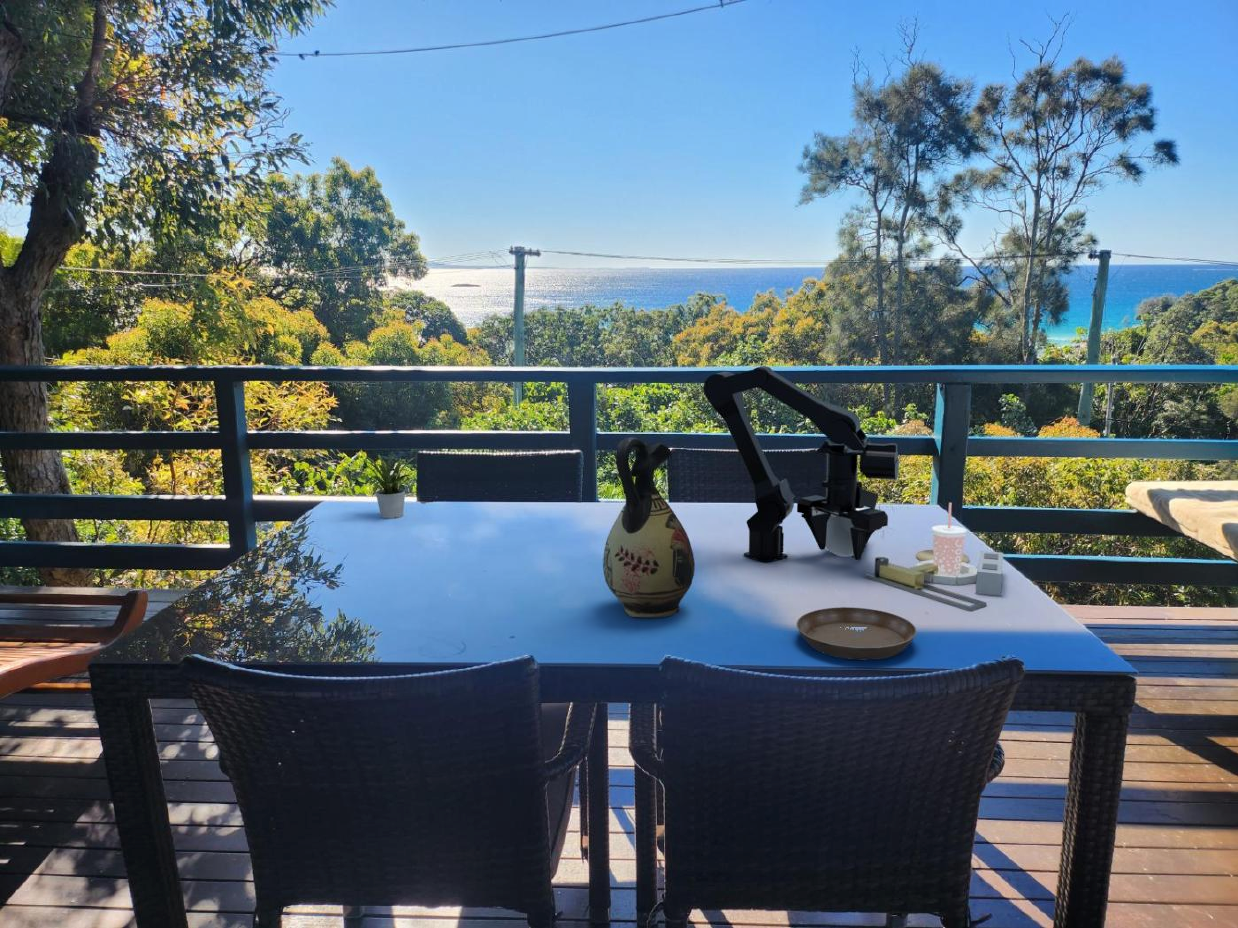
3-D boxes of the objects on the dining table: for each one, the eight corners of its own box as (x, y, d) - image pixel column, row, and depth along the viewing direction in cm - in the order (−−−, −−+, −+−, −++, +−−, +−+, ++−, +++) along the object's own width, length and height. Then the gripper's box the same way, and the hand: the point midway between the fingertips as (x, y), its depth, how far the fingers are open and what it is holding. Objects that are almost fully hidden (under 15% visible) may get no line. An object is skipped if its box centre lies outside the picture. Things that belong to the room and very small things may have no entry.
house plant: (345, 521, 218) (340, 454, 215) (376, 508, 231) (372, 445, 228) (397, 524, 214) (393, 457, 211) (426, 511, 227) (422, 447, 224)
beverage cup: (942, 581, 166) (946, 507, 164) (922, 572, 172) (926, 500, 169) (970, 578, 168) (975, 505, 165) (950, 569, 174) (954, 498, 171)
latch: (914, 589, 161) (915, 571, 161) (871, 575, 169) (872, 558, 169) (944, 581, 166) (945, 563, 165) (901, 568, 174) (901, 551, 173)
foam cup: (871, 546, 193) (861, 562, 182) (828, 534, 197) (816, 549, 185) (882, 504, 191) (872, 518, 179) (838, 492, 194) (826, 505, 183)
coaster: (947, 568, 174) (947, 566, 174) (905, 556, 182) (905, 554, 182) (979, 559, 179) (979, 558, 179) (937, 548, 187) (937, 546, 187)
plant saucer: (774, 632, 143) (774, 614, 143) (868, 617, 149) (869, 599, 149) (839, 675, 127) (839, 654, 127) (941, 655, 133) (942, 636, 133)
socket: (910, 586, 164) (911, 564, 163) (918, 564, 177) (919, 543, 176) (1000, 595, 158) (1001, 573, 157) (1001, 572, 171) (1003, 551, 170)
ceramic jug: (640, 589, 165) (639, 426, 159) (712, 606, 155) (712, 433, 149) (578, 615, 152) (574, 439, 146) (651, 636, 142) (650, 447, 136)
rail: (969, 611, 151) (970, 607, 151) (865, 577, 169) (865, 574, 169) (986, 605, 153) (986, 602, 153) (881, 573, 172) (881, 570, 172)
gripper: (908, 478, 171) (905, 558, 174) (835, 464, 186) (833, 538, 189) (868, 486, 165) (865, 568, 168) (795, 471, 180) (794, 546, 183)
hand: (839, 554), depth 177 cm, fingers open, 9 cm apart
